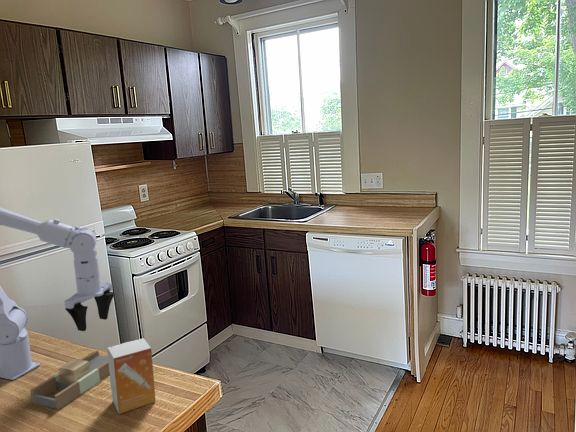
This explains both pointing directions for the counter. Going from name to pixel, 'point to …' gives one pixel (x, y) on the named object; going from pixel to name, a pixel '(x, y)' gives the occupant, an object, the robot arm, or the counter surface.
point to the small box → (131, 375)
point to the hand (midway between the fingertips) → (93, 324)
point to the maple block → (74, 370)
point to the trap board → (71, 391)
